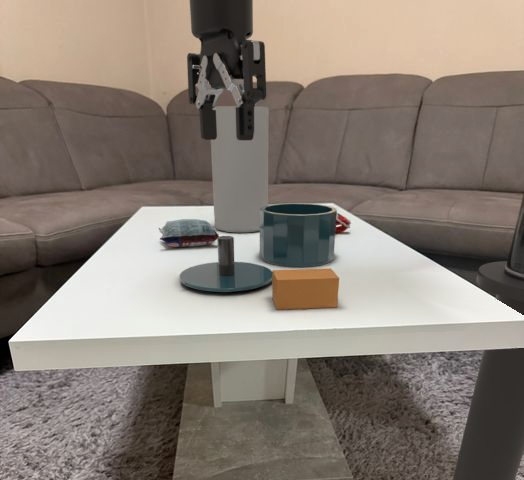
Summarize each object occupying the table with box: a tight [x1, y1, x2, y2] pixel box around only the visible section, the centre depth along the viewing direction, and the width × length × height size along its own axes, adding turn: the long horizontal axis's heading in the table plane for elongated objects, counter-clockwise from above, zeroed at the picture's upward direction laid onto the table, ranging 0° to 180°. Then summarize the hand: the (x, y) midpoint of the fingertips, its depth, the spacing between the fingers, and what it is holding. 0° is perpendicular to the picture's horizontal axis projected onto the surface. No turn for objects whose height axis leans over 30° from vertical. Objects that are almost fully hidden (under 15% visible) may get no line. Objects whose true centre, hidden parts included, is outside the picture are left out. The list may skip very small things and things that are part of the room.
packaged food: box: [157, 218, 220, 248], centre depth 91 cm, size 9×12×5 cm
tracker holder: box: [335, 212, 352, 234], centre depth 101 cm, size 12×4×10 cm
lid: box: [179, 235, 273, 293], centre depth 68 cm, size 14×14×7 cm
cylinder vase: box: [210, 105, 270, 234], centre depth 101 cm, size 12×12×25 cm
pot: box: [259, 202, 338, 268], centre depth 81 cm, size 13×13×8 cm
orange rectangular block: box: [271, 267, 340, 311], centre depth 60 cm, size 8×4×4 cm, turn 96°
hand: (226, 140), depth 61 cm, fingers open, 8 cm apart
